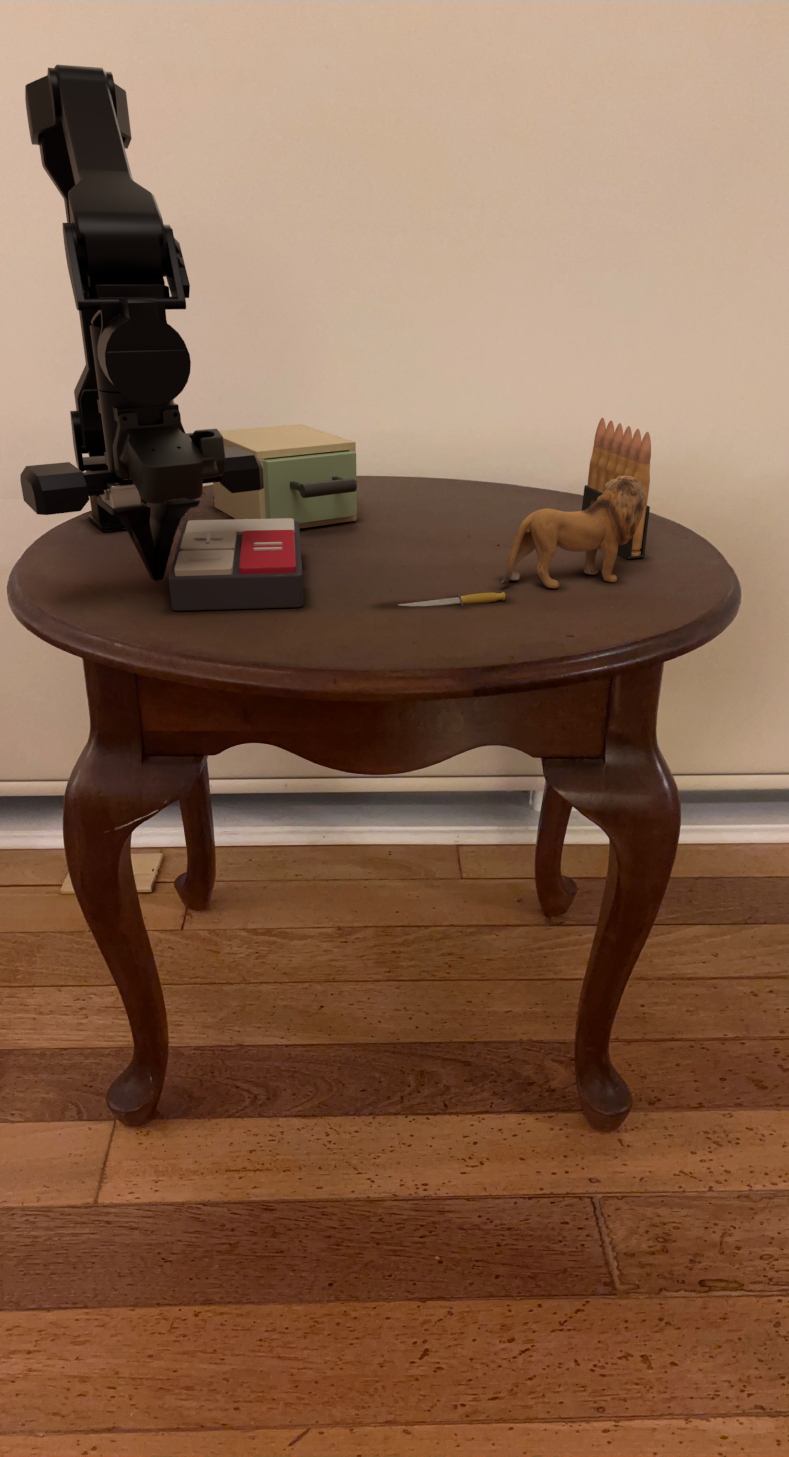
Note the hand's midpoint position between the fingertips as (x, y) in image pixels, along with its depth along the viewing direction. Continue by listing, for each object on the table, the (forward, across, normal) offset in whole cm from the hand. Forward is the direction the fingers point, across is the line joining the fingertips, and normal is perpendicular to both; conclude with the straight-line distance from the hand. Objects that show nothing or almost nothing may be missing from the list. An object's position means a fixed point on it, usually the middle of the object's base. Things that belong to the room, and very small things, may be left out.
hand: (157, 579), depth 80 cm
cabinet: (+2, +22, +21) cm, 30 cm away
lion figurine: (+2, +35, -14) cm, 37 cm away
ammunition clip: (+2, +46, -7) cm, 46 cm away
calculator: (+2, +8, 0) cm, 8 cm away
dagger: (+2, +21, -14) cm, 25 cm away
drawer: (+1, +22, +17) cm, 28 cm away
